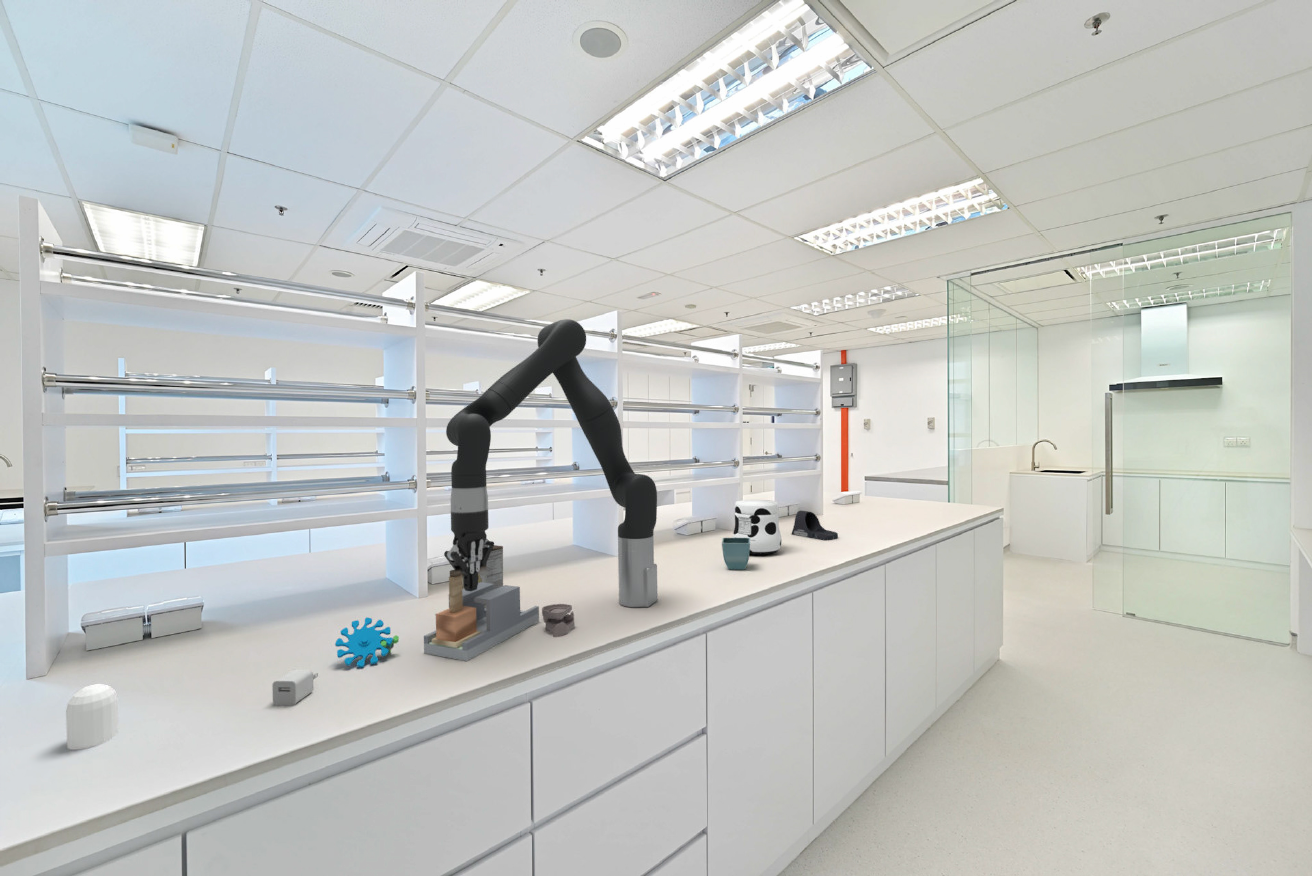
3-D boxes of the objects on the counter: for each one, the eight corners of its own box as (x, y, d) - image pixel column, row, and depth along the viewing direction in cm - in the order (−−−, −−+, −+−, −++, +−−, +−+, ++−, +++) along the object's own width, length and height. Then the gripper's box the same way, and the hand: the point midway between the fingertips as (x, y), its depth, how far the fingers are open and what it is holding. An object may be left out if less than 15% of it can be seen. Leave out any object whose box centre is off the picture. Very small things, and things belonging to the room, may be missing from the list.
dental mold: (556, 622, 129) (556, 600, 129) (581, 626, 126) (580, 604, 126) (534, 633, 122) (534, 611, 122) (560, 638, 119) (559, 615, 119)
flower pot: (721, 571, 173) (721, 542, 173) (723, 564, 182) (722, 537, 182) (750, 572, 172) (750, 543, 171) (750, 565, 180) (749, 537, 180)
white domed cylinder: (59, 745, 80) (57, 690, 80) (106, 727, 85) (104, 675, 85) (79, 752, 78) (77, 696, 78) (126, 733, 83) (125, 680, 83)
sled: (481, 635, 115) (479, 568, 115) (456, 647, 108) (455, 576, 108) (457, 631, 117) (455, 565, 117) (431, 643, 111) (430, 573, 111)
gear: (330, 665, 103) (340, 615, 110) (330, 679, 106) (341, 630, 113) (395, 663, 107) (401, 615, 114) (393, 676, 111) (400, 629, 117)
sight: (826, 541, 217) (826, 516, 217) (790, 535, 231) (790, 511, 231) (841, 538, 222) (840, 513, 222) (804, 532, 237) (804, 509, 237)
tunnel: (539, 621, 130) (538, 578, 130) (466, 661, 108) (465, 610, 107) (501, 615, 134) (500, 574, 134) (424, 653, 112) (423, 603, 112)
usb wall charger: (272, 704, 91) (272, 680, 91) (301, 685, 98) (300, 663, 98) (296, 705, 91) (295, 681, 91) (323, 685, 98) (322, 663, 98)
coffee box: (459, 611, 138) (457, 546, 138) (478, 603, 144) (477, 542, 144) (486, 616, 134) (484, 550, 134) (504, 608, 140) (503, 544, 139)
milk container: (778, 547, 207) (777, 499, 207) (784, 557, 190) (784, 505, 190) (731, 546, 209) (731, 499, 208) (733, 557, 191) (733, 505, 191)
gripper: (460, 513, 109) (462, 601, 109) (504, 505, 121) (505, 583, 122) (432, 512, 112) (433, 597, 112) (477, 503, 124) (478, 580, 125)
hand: (471, 590), depth 117 cm, fingers closed
